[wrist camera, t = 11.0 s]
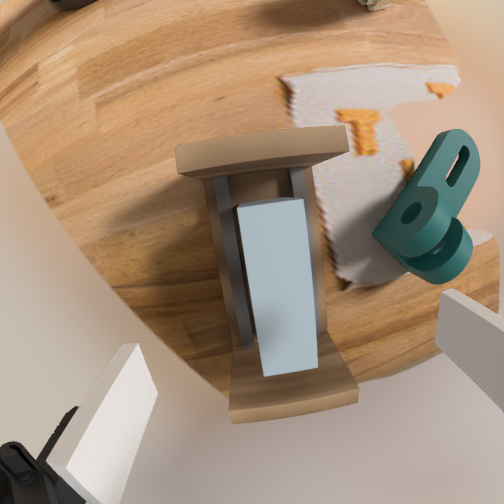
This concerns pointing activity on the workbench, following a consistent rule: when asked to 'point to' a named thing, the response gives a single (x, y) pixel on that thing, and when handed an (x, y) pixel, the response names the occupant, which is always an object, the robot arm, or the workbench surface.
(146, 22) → the workbench surface
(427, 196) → the bracket
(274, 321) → the door panel
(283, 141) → the track
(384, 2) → the pneumatic valve
